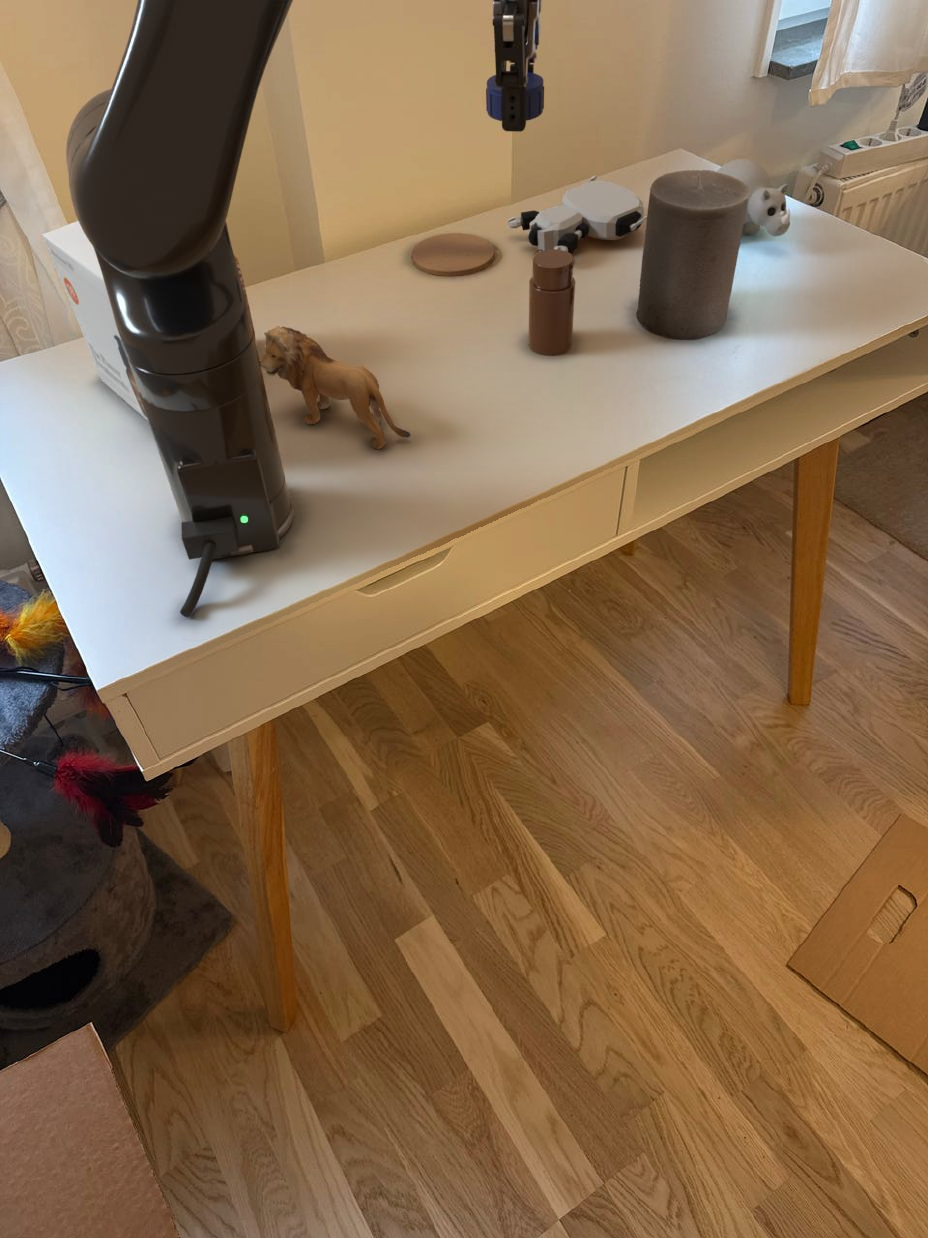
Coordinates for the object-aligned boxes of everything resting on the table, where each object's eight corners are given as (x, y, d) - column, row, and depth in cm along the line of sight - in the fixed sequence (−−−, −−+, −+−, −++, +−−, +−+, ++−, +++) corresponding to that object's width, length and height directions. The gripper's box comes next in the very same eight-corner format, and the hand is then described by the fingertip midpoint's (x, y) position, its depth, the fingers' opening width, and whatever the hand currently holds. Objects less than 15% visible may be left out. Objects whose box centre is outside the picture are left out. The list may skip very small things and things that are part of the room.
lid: (516, 126, 87) (516, 95, 85) (475, 113, 89) (474, 82, 87) (554, 109, 89) (555, 78, 87) (514, 97, 92) (514, 66, 90)
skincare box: (95, 383, 96) (39, 231, 85) (142, 363, 99) (94, 212, 87) (200, 474, 85) (151, 314, 74) (250, 449, 88) (211, 290, 76)
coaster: (502, 269, 110) (502, 264, 110) (420, 280, 109) (419, 276, 109) (483, 233, 117) (483, 228, 116) (405, 243, 116) (404, 238, 115)
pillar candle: (631, 335, 99) (646, 192, 88) (641, 291, 106) (656, 152, 95) (724, 344, 97) (751, 198, 86) (729, 298, 104) (755, 157, 93)
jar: (577, 351, 97) (583, 264, 90) (535, 358, 97) (538, 272, 90) (563, 329, 100) (567, 244, 94) (522, 336, 100) (523, 251, 93)
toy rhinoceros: (755, 267, 108) (770, 192, 102) (689, 228, 116) (699, 157, 109) (801, 251, 111) (819, 177, 104) (734, 214, 118) (747, 143, 112)
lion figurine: (264, 422, 90) (245, 339, 84) (292, 393, 94) (276, 311, 87) (398, 456, 86) (389, 370, 79) (423, 424, 89) (417, 340, 83)
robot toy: (560, 281, 109) (660, 238, 114) (559, 244, 106) (662, 201, 110) (502, 242, 117) (598, 203, 121) (500, 207, 113) (599, 167, 117)
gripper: (486, -118, 83) (490, 91, 95) (459, -81, 73) (467, 146, 85) (570, -119, 82) (563, 92, 94) (554, -82, 72) (549, 148, 84)
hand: (517, 117), depth 90 cm, fingers closed on lid, 5 cm apart
